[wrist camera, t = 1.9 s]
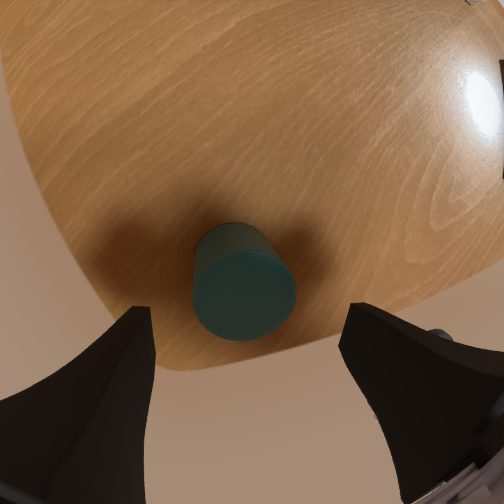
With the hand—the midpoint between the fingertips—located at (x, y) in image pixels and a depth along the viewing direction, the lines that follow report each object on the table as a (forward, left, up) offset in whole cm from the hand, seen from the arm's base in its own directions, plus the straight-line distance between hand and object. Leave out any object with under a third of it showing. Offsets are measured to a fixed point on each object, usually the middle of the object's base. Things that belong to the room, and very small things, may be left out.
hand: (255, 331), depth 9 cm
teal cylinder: (0, 0, -7) cm, 7 cm away
